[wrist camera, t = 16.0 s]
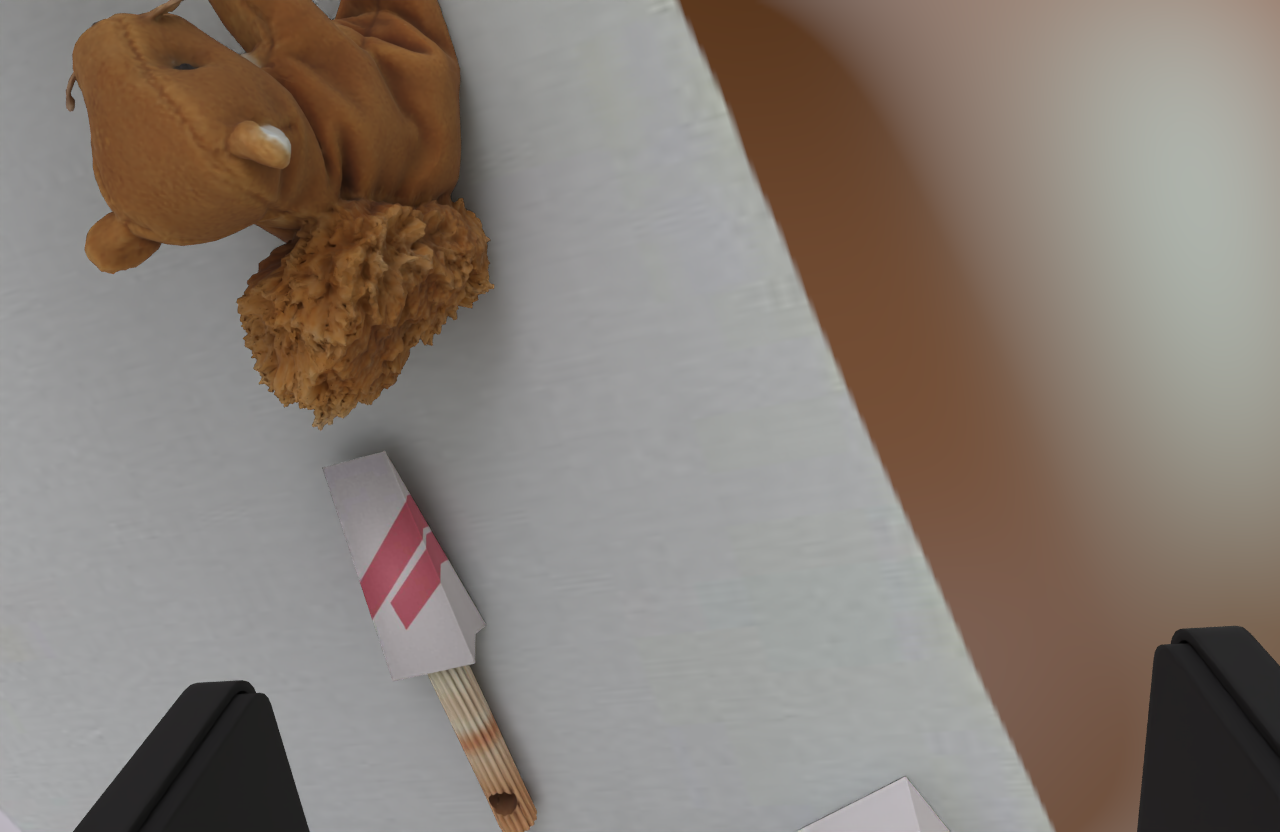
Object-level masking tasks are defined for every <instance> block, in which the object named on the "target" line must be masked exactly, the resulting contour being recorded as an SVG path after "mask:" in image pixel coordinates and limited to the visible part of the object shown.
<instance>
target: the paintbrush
mask: <svg viewBox="0 0 1280 832" xmlns="http://www.w3.org/2000/svg"><path fill="white" fill-rule="evenodd" d="M322 469H323V472H324V475H325V478H326V481H327V484H328V487H329V490H330V493H331V496H332V499H333V502H334V505H335V508H336V511H337V514H338V517H339V520H340V523H341V526H342V529H343V532H344V535H345V538H346V541H347V544H348V547H349V550H350V553H351V556H352V559H353V562H354V566H355V569H356V572H357V575H358V578H359V581H360V584H361V587H362V590H363V593H364V596H365V599H366V602H367V605H368V608H369V611H370V614H371V617H372V620H373V623H374V626H375V629H376V632H377V635H378V638H379V641H380V644H381V647H382V650H383V653H384V656H385V659H386V663H387V666H388V669H389V672H390V675H391V678H392V681H398V680H402V679H407V678H411V677H416V676H420V675H425V674H428V676H429V679H430V681H431V683H432V685H433V687H434V689H435V691H436V693H437V695H438V697H439V699H440V701H441V703H442V705H443V708H444V710H445V712H446V714H447V716H448V718H449V720H450V722H451V724H452V727H453V729H454V731H455V733H456V735H457V737H458V739H459V741H460V743H461V745H462V748H463V750H464V752H465V754H466V756H467V758H468V760H469V762H470V764H471V766H472V769H473V771H474V773H475V775H476V777H477V779H478V781H479V783H480V785H481V787H482V790H483V792H484V794H485V796H486V798H487V800H488V802H489V805H490V807H491V809H492V811H493V813H494V816H495V818H496V820H497V822H498V824H499V827H500V828H501V829H502V831H503V832H524V831H527V830H529V829H530V826H533V825H534V821H535V820H536V819H537V816H536V814H537V810H536V808H535V806H534V804H533V802H532V800H531V798H530V796H529V794H528V792H527V790H526V787H525V785H524V783H523V781H522V779H521V776H520V774H519V772H518V770H517V768H516V766H515V763H514V761H513V759H512V757H511V755H510V752H509V750H508V748H507V746H506V744H505V741H504V739H503V737H502V735H501V733H500V730H499V728H498V726H497V724H496V722H495V720H494V717H493V715H492V713H491V711H490V709H489V707H488V704H487V702H486V700H485V698H484V696H483V694H482V692H481V689H480V687H479V685H478V683H477V681H476V679H475V677H474V675H473V672H472V670H471V668H470V666H469V665H470V664H475V634H476V633H477V632H478V631H480V630H481V629H482V628H483V627H485V626H486V624H485V622H484V620H483V619H482V617H481V615H480V614H479V612H478V610H477V608H476V607H475V605H474V603H473V602H472V600H471V598H470V596H469V595H468V593H467V591H466V589H465V588H464V586H463V584H462V583H461V581H460V579H459V577H458V576H457V574H456V572H455V571H454V569H453V567H452V565H451V564H450V562H449V560H448V558H447V557H446V555H445V553H444V552H443V550H442V548H441V546H440V545H439V543H438V541H437V540H436V538H435V536H434V534H433V533H432V531H431V529H430V528H429V526H428V524H427V522H426V521H425V519H424V517H423V515H422V514H421V512H420V510H419V509H418V507H417V505H416V503H415V502H414V500H413V498H412V497H411V495H410V493H409V491H408V490H407V488H406V486H405V484H404V483H403V481H402V479H401V478H400V476H399V474H398V472H397V471H396V469H395V467H394V466H393V464H392V462H391V460H390V459H389V457H388V455H387V453H386V452H385V451H383V452H379V453H376V454H372V455H368V456H364V457H361V458H357V459H353V460H349V461H345V462H342V463H338V464H334V465H330V466H327V467H323V468H322Z"/></svg>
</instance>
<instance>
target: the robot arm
mask: <svg viewBox="0 0 1280 832" xmlns="http://www.w3.org/2000/svg"><path fill="white" fill-rule="evenodd" d="M73 832H309V828H308V825H307V822H306V818H305V815H304V812H303V808H302V805H301V802H300V799H299V795H298V792H297V789H296V785H295V782H294V779H293V775H292V772H291V769H290V765H289V762H288V759H287V755H286V752H285V749H284V746H283V742H282V739H281V736H280V732H279V729H278V726H277V722H276V719H275V716H274V712H273V709H272V706H271V703H270V701H269V698H268V697H267V696H266V695H265V694H263V693H256V691H255V689H254V687H253V686H252V685H251V684H250V683H249V682H247V681H243V680H240V681H222V682H203V683H195V684H192V685H190V686H189V687H188V688H187V689H186V690H185V691H184V692H183V693H182V694H181V695H180V697H179V698H178V699H177V700H176V702H175V703H174V704H173V706H172V707H171V708H170V709H169V711H168V712H167V713H166V714H165V716H164V717H163V718H162V719H161V721H160V722H159V723H158V725H157V726H156V727H155V728H154V730H153V731H152V732H151V733H150V735H149V736H148V737H147V738H146V740H145V741H144V742H143V744H142V745H141V746H140V747H139V749H138V750H137V751H136V752H135V754H134V755H133V756H132V757H131V759H130V760H129V761H128V763H127V764H126V765H125V766H124V768H123V769H122V770H121V771H120V773H119V774H118V775H117V776H116V778H115V779H114V780H113V782H112V783H111V784H110V785H109V787H108V788H107V789H106V790H105V792H104V793H103V794H102V796H101V797H100V798H99V799H98V801H97V802H96V803H95V804H94V806H93V807H92V808H91V809H90V811H89V812H88V813H87V815H86V816H85V817H84V818H83V820H82V821H81V822H80V823H79V825H78V826H77V827H76V828H75V830H74V831H73ZM1137 832H1280V666H1279V665H1278V664H1277V663H1276V661H1275V660H1274V659H1273V658H1272V657H1271V656H1270V655H1269V654H1268V652H1267V651H1266V650H1265V649H1264V648H1263V647H1262V646H1261V645H1260V643H1259V642H1258V641H1257V640H1256V639H1255V638H1254V637H1253V636H1252V635H1251V634H1250V633H1249V632H1248V631H1247V630H1246V629H1245V628H1243V627H1239V626H1225V627H1206V628H1189V629H1180V630H1178V631H1176V632H1175V634H1174V635H1173V637H1172V640H1171V644H1167V645H1160V646H1158V647H1157V649H1156V651H1155V655H1154V661H1153V671H1152V683H1151V693H1150V703H1149V714H1148V724H1147V735H1146V745H1145V755H1144V766H1143V776H1142V787H1141V798H1140V807H1139V818H1138V828H1137Z"/></svg>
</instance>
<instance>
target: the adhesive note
mask: <svg viewBox="0 0 1280 832" xmlns="http://www.w3.org/2000/svg"><path fill="white" fill-rule="evenodd" d="M798 832H950V831H949V830H948V828H947V827H946V826H945V825H944V823H943V822H942V821H941V820H940V818H939V817H938V816H937V815H936V813H935V812H934V811H933V810H932V808H931V807H930V806H929V805H928V803H927V802H926V801H925V800H924V798H923V797H922V796H921V795H920V793H919V792H918V791H917V790H916V788H915V787H914V786H913V785H912V783H911V782H910V781H909V780H908V779H907V777H906V776H905V777H903V778H901V779H899V780H897V781H895V782H894V783H892V784H890V785H888V786H886V787H884V788H882V789H880V790H878V791H876V792H874V793H872V794H870V795H868V796H866V797H864V798H862V799H860V800H858V801H856V802H854V803H852V804H850V805H848V806H846V807H844V808H842V809H840V810H838V811H836V812H834V813H832V814H830V815H828V816H826V817H824V818H822V819H820V820H818V821H816V822H814V823H812V824H810V825H808V826H806V827H804V828H802V829H800V830H798Z"/></svg>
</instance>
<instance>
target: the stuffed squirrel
mask: <svg viewBox="0 0 1280 832" xmlns="http://www.w3.org/2000/svg"><path fill="white" fill-rule="evenodd" d="M181 1H184V0H170V1H168V2H167V3H165V4H162V5H160V6H159V7H157V8H155V9H153V10H151V11H150V12H147V13H143V14H139V15H136V14H127V13H119V14H114V15H113V16H111V17H109V18H108V19H103V20H101V21H99V22H96V23H94V24H93V25H92V27H90V28H89V29H87V30H86V31H85V32H84V33H83V34H82V35H81V36H80V37H79V39H78V41H77V42H76V44H75V46H74V50H73V54H72V57H73V71H74V72H73V74H72V75H71V77H70V79H69V81H68V85H67V89H66V107H67V109H68V110H69V111H73V110H74V108H75V100H74V98H73V97H72V96H71V90H72V88H73V85H74V82H75V80H76V81H77V82H78V85H79V87H80V89H81V91H82V94H83V97H84V101H85V104H86V108H87V112H88V117H89V124H90V132H91V147H92V155H93V170H94V175H95V179H96V181H97V184H98V186H99V189H100V192H101V194H102V196H103V197H104V199H105V201H106V202H107V204H108V206H109V207H110V209H111V210H112V211H113V212H111V213H108V214H107V215H106V216H104V217H103V218H102V219H100V220H99V221H97V222H96V223H95V224H94V225H93V226H92V227H91V229H90V230H89V232H88V234H87V237H86V244H85V253H86V255H87V257H88V259H89V260H90V261H91V262H92V263H93V264H95V265H96V266H97V267H98V268H99V270H100V271H101V272H107V273H111V274H114V273H115V272H117V271H120V270H127V269H129V268H134V267H137V266H138V265H140V264H141V263H142V262H144V261H145V260H146V259H148V258H149V257H150V256H151V255H152V254H153V253H154V252H156V251H157V250H158V249H159V247H160V245H161V243H164V244H170V245H180V246H185V245H195V244H202V243H207V242H212V241H216V240H219V239H222V238H224V237H227V236H229V235H231V234H234V233H236V232H238V231H240V230H242V229H244V228H246V227H248V226H251V225H253V224H256V225H257V226H259V227H261V228H262V229H264V230H266V231H267V232H269V233H271V234H273V235H274V236H276V237H277V238H279V239H281V240H282V241H284V242H286V244H284V245H281V246H279V247H277V248H275V249H274V250H273V251H272V252H271V254H270V256H269V257H267V258H266V259H264V260H262V261H261V262H260V263H259V271H258V273H256V274H254V275H252V276H251V278H250V279H249V280H247V284H248V285H249V286H248V288H247V289H246V290H245V292H244V295H242V297H240V298H238V299H237V303H238V313H239V314H241V317H240V322H242V324H243V325H241V327H243V329H244V330H246V332H247V333H248V334H247V335H246V336H245V337H244V338H243V339H244V340H245V347H247V348H249V349H250V350H252V354H253V356H252V357H251V358H256V360H257V362H256V363H255V366H254V368H253V369H254V370H256V371H258V372H260V376H262V379H261V381H260V382H259V383H258V384H266V385H267V386H268V387H269V389H268V391H269V392H273V391H274V390H275V392H274V395H276V396H277V398H279V401H281V403H283V404H284V407H285V406H286V407H288V405H289V404H293V403H294V402H297V403H298V402H299V408H300V409H301V408H304V409H305V408H307V409H308V410H312V409H314V410H315V411H314V415H315V419H314V422H313V424H312V427H317V426H318V429H319V430H320V431H321V430H322V429H323V427H324V425H325V424H327V423H328V425H331V424H333V419H334V417H336V416H338V417H341V418H343V419H344V417H345V416H347V415H348V414H349V413H350V411H351V410H352V409H353V408H355V407H356V405H357V403H358V402H360V403H362V404H363V403H365V404H367V405H369V404H370V405H372V402H373V401H374V400H375V399H377V398H378V397H379V396H380V393H381V391H382V390H383V389H384V388H386V389H388V388H389V387H390V386H391V385H394V384H395V383H396V381H397V377H398V374H401V370H402V369H403V366H404V365H405V362H406V361H407V360H408V357H409V355H410V348H412V347H413V346H416V345H417V343H419V339H421V340H422V342H423V344H424V345H426V344H427V345H431V346H432V345H433V342H432V341H433V335H434V334H435V333H436V334H437V335H438V334H440V333H441V328H442V325H444V324H446V318H447V316H449V317H451V318H452V319H453V320H457V312H456V311H457V310H458V306H462V307H467V308H472V306H473V304H472V303H473V302H475V301H478V295H479V294H485V292H488V291H489V289H494V284H492V285H491V284H490V282H489V281H488V280H489V273H488V268H489V267H488V266H489V264H490V262H489V260H488V256H487V247H488V246H487V242H488V241H490V239H489V238H488V237H486V235H485V233H484V231H483V229H482V224H481V221H480V219H479V218H477V217H476V215H475V213H473V212H471V211H469V210H466V208H464V207H465V205H464V201H463V200H464V199H463V198H458V201H456V202H452V201H451V193H452V191H453V189H454V187H455V186H456V184H457V181H458V178H459V172H460V162H461V127H460V103H459V91H460V67H459V64H458V60H457V57H456V54H455V50H454V47H453V44H452V41H451V38H450V35H449V32H448V28H447V25H446V23H445V21H444V18H443V15H442V11H441V8H440V6H439V3H438V1H437V0H341V2H340V5H339V8H338V12H337V15H336V18H335V19H334V20H330V19H329V18H328V17H327V15H326V14H325V13H324V12H322V11H321V10H320V9H319V8H318V7H317V6H316V5H315V4H314V3H313V1H312V0H209V2H210V4H211V5H212V7H213V9H214V10H215V12H216V13H217V15H218V17H219V18H220V20H221V21H222V23H223V25H224V26H225V27H226V28H227V30H228V31H229V32H230V34H231V35H232V36H233V37H234V38H235V39H236V41H237V42H238V43H239V44H240V45H241V47H242V48H243V49H244V50H245V51H246V53H243V54H237V53H236V52H234V51H232V50H231V49H229V48H227V47H226V46H224V45H223V44H221V43H219V42H218V41H216V40H215V39H213V38H211V37H210V36H209V35H207V34H206V33H204V32H203V31H201V30H200V29H198V28H197V27H196V26H194V25H193V24H191V23H190V22H188V21H187V20H185V19H183V18H182V17H180V16H177V15H173V14H170V13H168V12H172V11H173V10H175V9H176V8H177V7H178V6H179V4H180V3H181Z"/></svg>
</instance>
